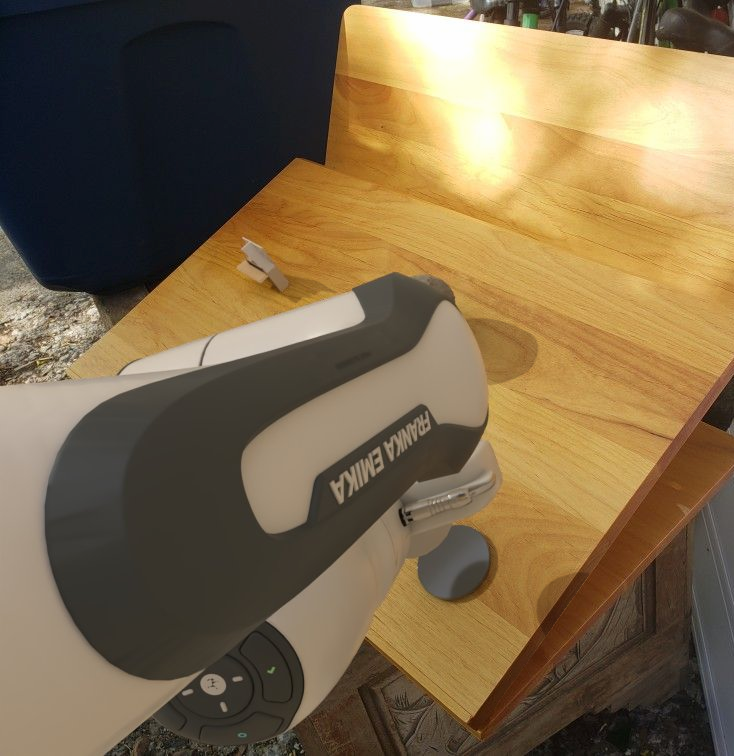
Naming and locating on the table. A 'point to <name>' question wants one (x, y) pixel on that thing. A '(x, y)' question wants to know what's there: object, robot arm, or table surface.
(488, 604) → the table surface
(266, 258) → the architectural model
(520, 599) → the table surface
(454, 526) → the coaster
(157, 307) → the table surface
